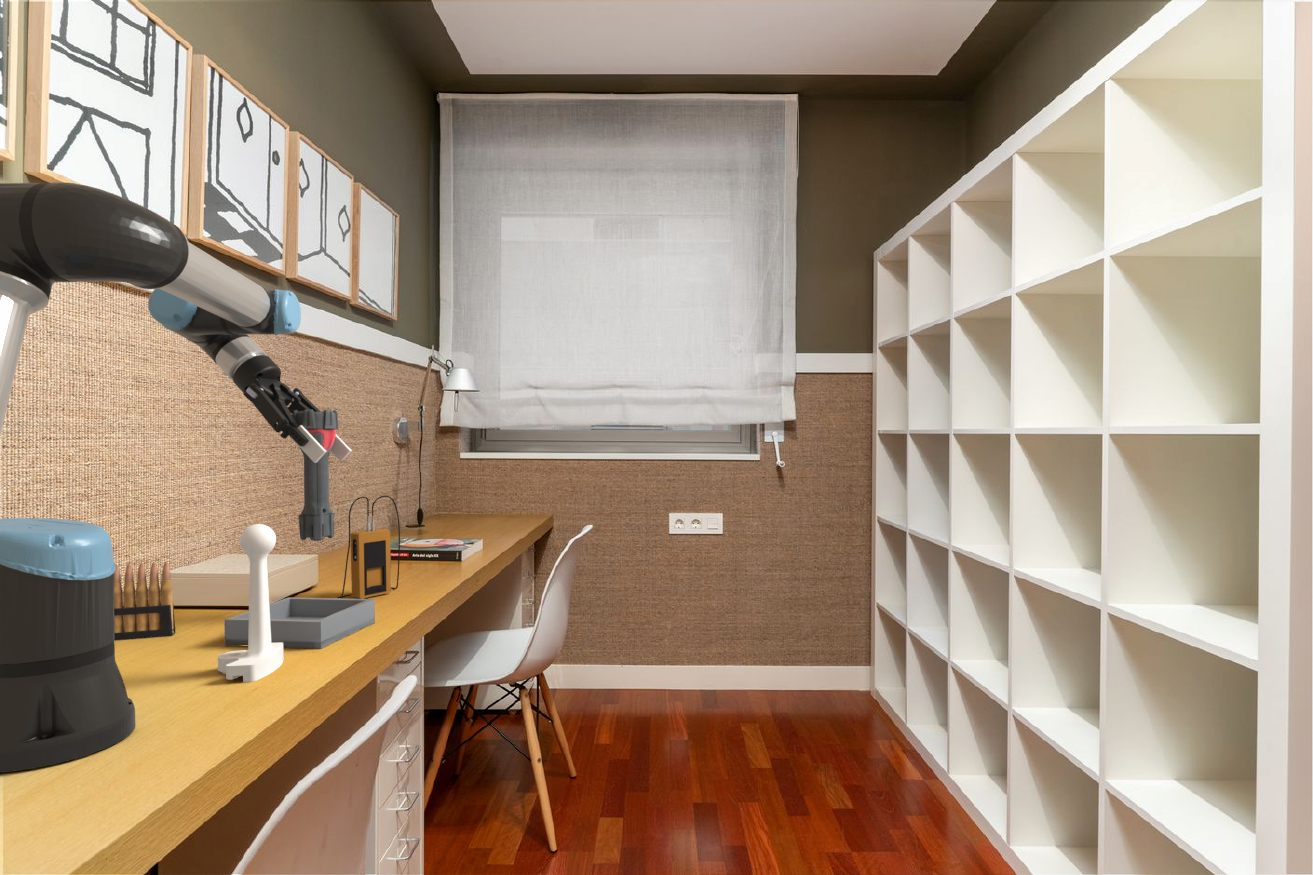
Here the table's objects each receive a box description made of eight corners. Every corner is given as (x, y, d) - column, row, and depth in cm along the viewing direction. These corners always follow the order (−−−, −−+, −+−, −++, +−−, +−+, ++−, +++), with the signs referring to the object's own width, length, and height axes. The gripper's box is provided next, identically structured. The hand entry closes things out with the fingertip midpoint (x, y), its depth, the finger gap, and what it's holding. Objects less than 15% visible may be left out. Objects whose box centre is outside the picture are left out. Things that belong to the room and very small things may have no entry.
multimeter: (377, 585, 166) (375, 491, 166) (406, 590, 160) (405, 493, 160) (312, 598, 154) (310, 497, 154) (341, 604, 148) (340, 499, 148)
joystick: (261, 681, 102) (259, 528, 102) (200, 684, 101) (197, 530, 101) (291, 657, 113) (288, 519, 113) (236, 659, 112) (233, 520, 112)
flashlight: (316, 534, 145) (314, 410, 145) (349, 535, 142) (347, 410, 142) (282, 539, 138) (280, 409, 138) (316, 541, 135) (314, 409, 135)
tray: (321, 648, 118) (320, 621, 118) (224, 645, 120) (224, 619, 120) (374, 622, 133) (374, 599, 133) (288, 620, 136) (288, 597, 136)
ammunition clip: (175, 633, 128) (174, 560, 128) (172, 636, 126) (171, 562, 126) (99, 639, 125) (98, 564, 125) (95, 642, 123) (93, 566, 123)
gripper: (272, 386, 152) (350, 469, 150) (196, 379, 132) (285, 474, 130) (297, 358, 152) (376, 441, 149) (224, 346, 131) (314, 441, 129)
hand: (333, 456), depth 140 cm, fingers closed on flashlight, 7 cm apart
